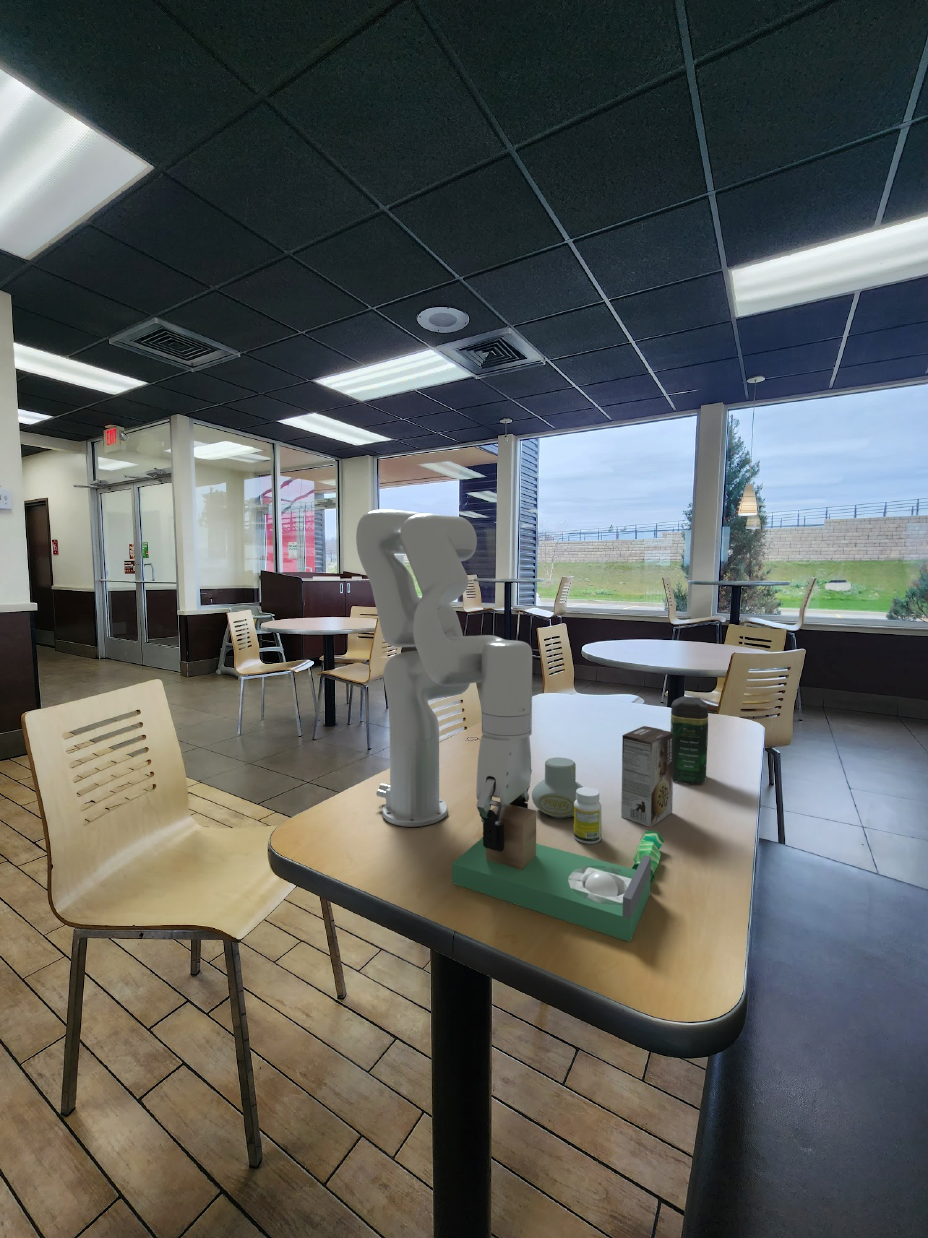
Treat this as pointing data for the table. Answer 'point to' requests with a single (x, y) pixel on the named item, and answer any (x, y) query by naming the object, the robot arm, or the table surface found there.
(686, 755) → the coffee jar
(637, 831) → the table surface
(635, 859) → the candy
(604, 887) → the ball
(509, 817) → the block
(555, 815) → the air freshener
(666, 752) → the coffee box
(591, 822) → the supplement bottle
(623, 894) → the board
